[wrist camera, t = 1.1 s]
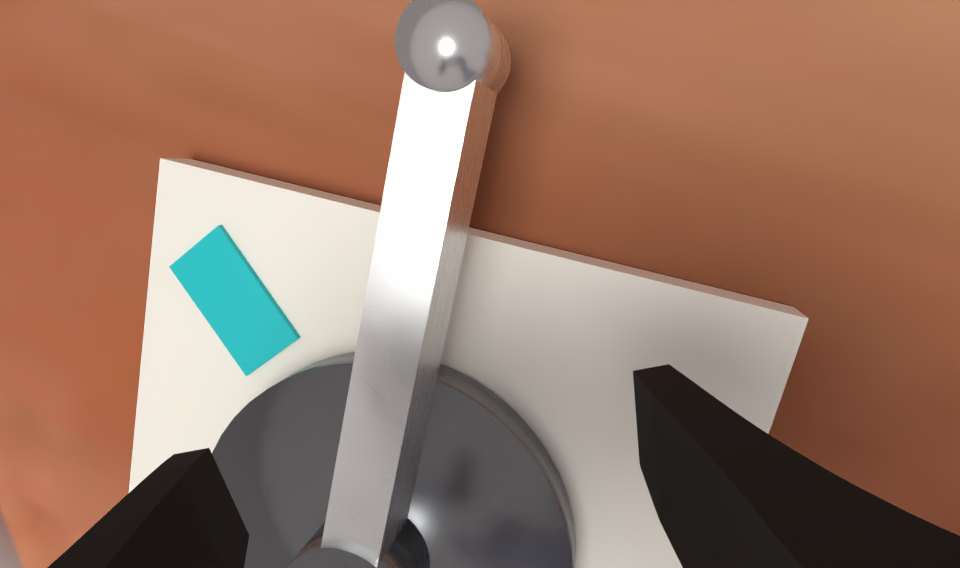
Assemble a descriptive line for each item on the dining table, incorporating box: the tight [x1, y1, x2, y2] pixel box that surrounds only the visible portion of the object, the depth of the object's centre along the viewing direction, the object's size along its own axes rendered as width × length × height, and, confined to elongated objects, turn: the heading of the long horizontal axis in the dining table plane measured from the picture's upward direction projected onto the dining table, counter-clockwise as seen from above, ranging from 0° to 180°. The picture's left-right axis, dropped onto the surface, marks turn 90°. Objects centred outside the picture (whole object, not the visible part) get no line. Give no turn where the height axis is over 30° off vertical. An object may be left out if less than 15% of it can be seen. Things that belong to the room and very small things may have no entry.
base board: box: [129, 158, 809, 568], centre depth 21 cm, size 20×20×2 cm
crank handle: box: [212, 0, 576, 568], centre depth 17 cm, size 22×12×4 cm, turn 168°
